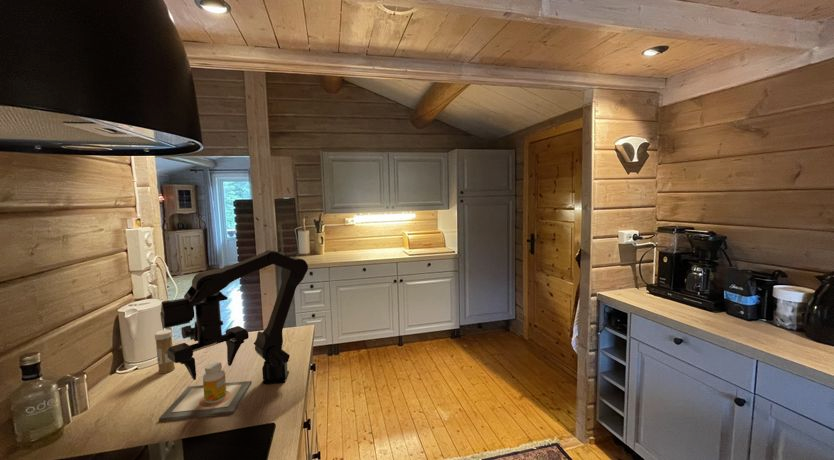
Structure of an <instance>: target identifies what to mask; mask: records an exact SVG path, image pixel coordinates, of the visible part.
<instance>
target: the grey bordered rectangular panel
mask: <svg viewBox="0 0 834 460" xmlns="http://www.w3.org/2000/svg"><path fill="white" fill-rule="evenodd" d="M252 383H253V382H252V380H246V381H236V382H235V381H233V382H226V397H225V398H224V399H222V400H221V401H219V402H215V403H206V402H205V400H204V387H203V384H202V385H190V386H187V387H186V389H184V390H183V391H182V393H181V394H180V395H178V397H177V398H176V399H175V400H174V401H173V403H171V404H170V406H169V407H167V409H166V410H165V411H164V412H163V413H162V414H161V415H160V416H159V418H158V422H166V421H175V420H186V419H187V420H188V419H195V418H206V417H213V416H214V417H215V416H223V415H224V416H225V415H234V413H235V411H237V408H238V407H239V405H240V404H241V401H242V400H243V399H244V396H245V395H246V393H247V391H248V390H249V388H250V387H251V385H252Z"/></svg>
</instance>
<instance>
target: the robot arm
mask: <svg viewBox="0 0 834 460" xmlns="http://www.w3.org/2000/svg"><path fill="white" fill-rule="evenodd" d="M271 265H275V266H276V267H280V268H281V270H280V276H281V277H280V279H281V283H280V287H279V291H278V294H277V297H276V299H275V302H274V306H273V308H272V311H271V314H270V317H269V321H268V323H267V326H266V328H265V329H263V331H258V332H257V335H256V339H255V341H254V342H253V345H254V350H255V352H256V353H257V355H258V356H260V358H261V359H263V360H264V362H263V366H262V370H261V371H262V380H263V382H262V385H272V384H283V383H286V380H287V379H288V376H289V374H290V371H289V370H288V362H289V359H290V354H289V353H288V352H286V350H284V349H283V345H284V344H283V342H284V340H283V329H284V328H285V327H284V326H285V324H286V320H287V317H288V314H289V312H290V308H291V306H292V305H291V304H292V301H293V299H294V296H295V292H296V289H297V287H298V286H299V285H300V284H301V283H302V281H303V280H304V278H305V276H306V274H307V272H308V270H309V265H308V263H307V261H306V260H305V259H302V258H299V257H296V256H286V255H285V254H284V255H283V254H281V253H279V252H278V251H275V250H271V249H267V250H265V251H264V252H261V253H258V254H257V255H254V256H251V257H248V258H247V259H244V260H242V261H239V262H236V263H234V264H231V265H229V266H226V267H222V268H215V269H211V270H210V269H209V270H204V271H201V272H198V273H196V274H195V275H194V276H193V278H192V280H191V285H190V287H189V288H188V290H187V291H186V293H185V294H184V295H183V298H177V299H173V300H164V301H161V303H160V305H161V307H160V316H159V317H160V321H161V327H162V330H166V329H169V328H174V327H178V326H181V325H185V324H188V325H186V326H182V327H181V329H180V330H181V337H182V338H183V339H184V340H185V339H187V338H189V340H190V341H192V340H193V341H194V342H196V343H193V344H187V343H186V342H182V343H177V344H175V345H172V347H170V348H169V349H168V351H167V354H168V358H169V359H170V360H172V361H173V362H174V364H180V365H184V366H185V367H186V369H187V370H186V371H188V373H189V375H190V377H191V378H192V380H194V381H195V380H197V370H196V369H197V368H196V359H195V357H193V356H194V353H195V352H197V351H200V350H203V349H207V348H209V347H212V346H215V345H219V344H221V343H224V342H225V345H226V349H227V351H226V357H227V358H226V359H227V366H228V367H231V366H232V365H233V362H234V360H235V357H236V355H237V353H238V351H239V349H240V348H241V346H242V344H244V343H245V340H248V339H249V332H248V329H246V328H244V327H241V326H239V325H237V326H234V327H230V328H227V329H226V330H225V333H224V334H223V332H222V330H223V329H222V326H223V325H224V321H223V320H221V319H222V317H221V303H220V302H222V301H223V302H224V301H226V300H228V299H229V297H228V296H226V295H225V294H223V293H222V292H221V291H222V290H224V289H226V288H227V287H228V286H229V285H230V284H232V283H233V282H234V281H237V280H239V279H241V278H243V277H246V276H248V275H250V274H253V273H255V272H259V270H262V269H264V268H267V267H269V266H271ZM194 318H195V320H196V321H195V322H194V327H192V326H191V325H189V324H190V323H191V321H193V319H194Z"/></svg>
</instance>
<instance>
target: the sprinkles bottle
mask: <svg viewBox="0 0 834 460" xmlns="http://www.w3.org/2000/svg"><path fill="white" fill-rule="evenodd" d="M172 332H173V331H172V330H171V329H162V330H159V331H157V332H155V333H154V339H155V346H156V347H155V348H156V349H155V350H156V356H157V357H156V358H157V359H156V360H157V365H158V373H159V374H166V373H170V372H172V371H174V370H175V369H176V366H175V362H173V361H172V360H170V359H169V358H168V354H167V351H168V349H169V348H170V347H172V346H173V333H172Z"/></svg>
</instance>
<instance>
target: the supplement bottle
mask: <svg viewBox="0 0 834 460" xmlns="http://www.w3.org/2000/svg"><path fill="white" fill-rule="evenodd" d="M222 365H223V364H222V363H221V362H219V361H214V362H210V363H208V364H207V365H205V367H204V372H205V373H204V374H203V376H202V385H203V387H204V400H205V402H206V403H215V402H219V401H221V400H222V399H224V398H225V397H226V383H227V382H226V372H225V370H224V369H223V368H222Z"/></svg>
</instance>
